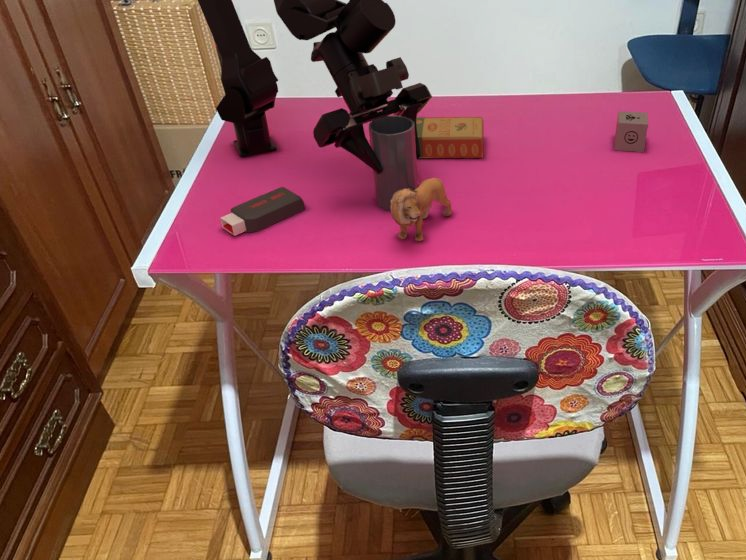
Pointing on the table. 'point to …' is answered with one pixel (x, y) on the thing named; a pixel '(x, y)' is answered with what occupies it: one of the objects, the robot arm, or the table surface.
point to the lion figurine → (417, 205)
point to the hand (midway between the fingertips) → (400, 165)
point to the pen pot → (393, 156)
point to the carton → (450, 137)
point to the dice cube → (631, 131)
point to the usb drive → (262, 211)
